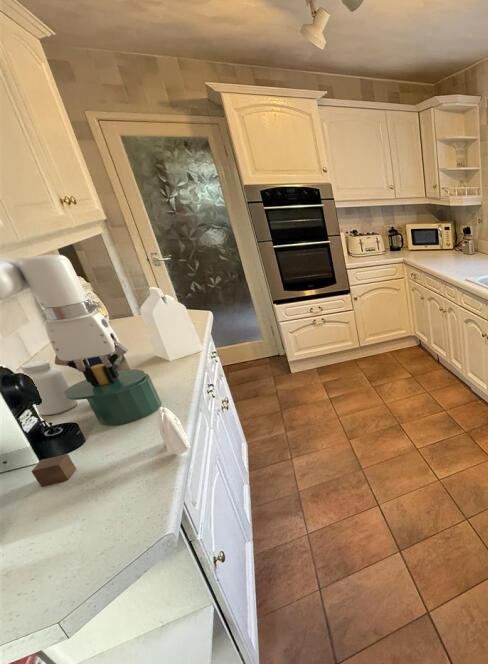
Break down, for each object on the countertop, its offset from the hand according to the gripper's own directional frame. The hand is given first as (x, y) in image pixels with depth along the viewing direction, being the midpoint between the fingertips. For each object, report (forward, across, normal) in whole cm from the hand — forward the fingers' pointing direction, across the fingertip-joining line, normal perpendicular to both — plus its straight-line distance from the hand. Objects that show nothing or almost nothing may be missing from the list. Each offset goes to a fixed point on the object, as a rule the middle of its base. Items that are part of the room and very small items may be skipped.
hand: (105, 381), depth 97 cm
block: (+16, +10, +12) cm, 23 cm away
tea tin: (+16, +4, -16) cm, 23 cm away
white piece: (+17, -12, +12) cm, 24 cm away
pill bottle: (+17, +24, -30) cm, 42 cm away
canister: (+17, +10, -30) cm, 36 cm away
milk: (+17, +1, -64) cm, 66 cm away
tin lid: (+1, 0, 0) cm, 1 cm away
